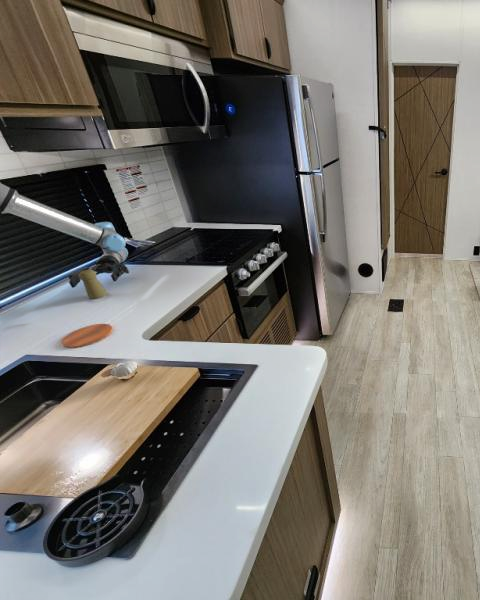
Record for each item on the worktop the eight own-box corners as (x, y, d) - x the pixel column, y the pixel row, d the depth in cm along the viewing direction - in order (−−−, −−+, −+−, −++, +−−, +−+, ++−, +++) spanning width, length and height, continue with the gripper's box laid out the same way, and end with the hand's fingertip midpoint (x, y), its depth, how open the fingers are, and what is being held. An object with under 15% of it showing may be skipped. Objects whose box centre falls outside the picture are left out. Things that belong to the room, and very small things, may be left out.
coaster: (50, 347, 104) (49, 346, 104) (85, 325, 115) (84, 323, 115) (90, 347, 104) (90, 346, 103) (122, 325, 115) (121, 323, 115)
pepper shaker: (102, 298, 132) (89, 273, 127) (85, 300, 131) (71, 274, 126) (110, 291, 137) (98, 267, 132) (93, 293, 136) (81, 268, 131)
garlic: (119, 387, 88) (111, 372, 86) (112, 378, 91) (104, 364, 89) (145, 374, 92) (137, 360, 90) (137, 367, 95) (130, 353, 93)
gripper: (145, 265, 156) (133, 284, 139) (79, 275, 147) (58, 295, 130) (138, 250, 152) (126, 267, 135) (70, 259, 143) (48, 278, 126)
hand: (92, 281), depth 132 cm, fingers open, 13 cm apart
